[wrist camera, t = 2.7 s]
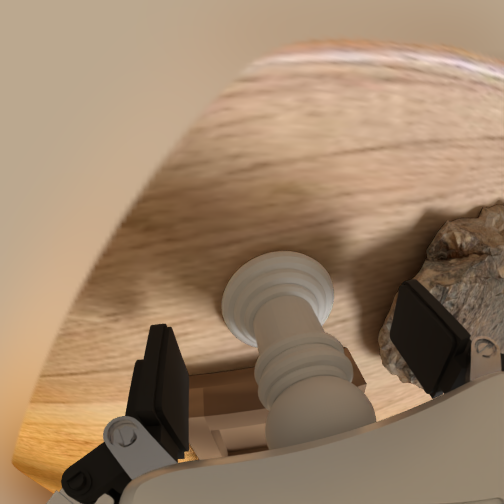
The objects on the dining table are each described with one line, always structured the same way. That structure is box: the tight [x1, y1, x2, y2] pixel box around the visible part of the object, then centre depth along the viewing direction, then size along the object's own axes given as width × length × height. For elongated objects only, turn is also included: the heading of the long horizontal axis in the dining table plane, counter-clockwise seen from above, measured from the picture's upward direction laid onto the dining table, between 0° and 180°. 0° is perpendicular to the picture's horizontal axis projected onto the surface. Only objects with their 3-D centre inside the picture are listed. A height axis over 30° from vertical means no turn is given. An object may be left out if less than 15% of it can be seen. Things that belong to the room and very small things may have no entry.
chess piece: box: [222, 251, 376, 450], centre depth 10 cm, size 5×5×9 cm
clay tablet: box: [378, 205, 504, 389], centre depth 15 cm, size 14×5×20 cm
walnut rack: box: [189, 348, 366, 460], centre depth 19 cm, size 19×10×3 cm, turn 6°
